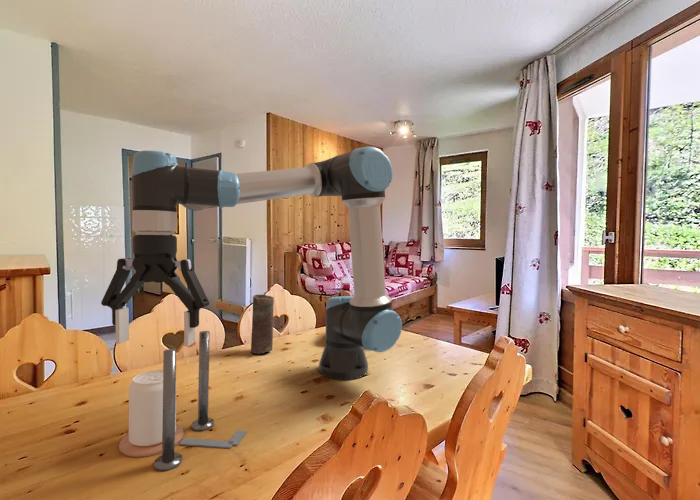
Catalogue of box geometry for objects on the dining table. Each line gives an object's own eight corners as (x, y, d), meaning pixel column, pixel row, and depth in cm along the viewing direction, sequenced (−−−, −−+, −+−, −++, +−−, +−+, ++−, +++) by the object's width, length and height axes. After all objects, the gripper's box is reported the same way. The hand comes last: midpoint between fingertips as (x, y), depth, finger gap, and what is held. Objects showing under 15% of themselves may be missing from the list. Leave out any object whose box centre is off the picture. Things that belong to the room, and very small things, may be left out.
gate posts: (217, 421, 79) (219, 329, 78) (173, 471, 61) (175, 355, 61) (197, 419, 79) (199, 329, 78) (148, 470, 62) (150, 354, 61)
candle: (263, 347, 132) (264, 293, 132) (277, 351, 128) (278, 295, 128) (246, 352, 126) (247, 295, 126) (260, 357, 122) (261, 298, 121)
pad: (193, 427, 76) (193, 424, 76) (163, 459, 65) (163, 455, 65) (143, 424, 76) (143, 421, 76) (104, 455, 65) (104, 451, 65)
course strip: (246, 432, 74) (246, 430, 74) (235, 448, 69) (235, 447, 68) (194, 428, 75) (194, 427, 75) (179, 445, 69) (179, 443, 69)
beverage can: (141, 427, 74) (141, 369, 74) (182, 425, 75) (182, 368, 75) (119, 449, 66) (120, 385, 66) (166, 448, 67) (166, 384, 67)
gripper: (226, 234, 72) (226, 339, 73) (107, 233, 74) (108, 335, 75) (209, 234, 65) (209, 351, 66) (77, 232, 67) (79, 346, 67)
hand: (155, 343), depth 70 cm, fingers open, 13 cm apart
